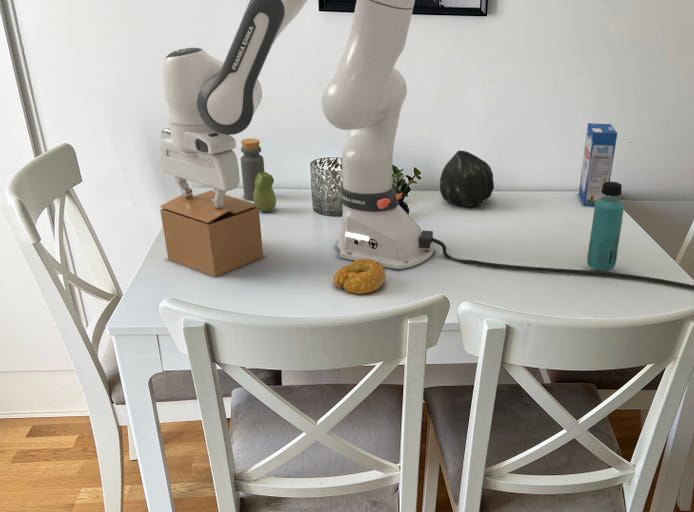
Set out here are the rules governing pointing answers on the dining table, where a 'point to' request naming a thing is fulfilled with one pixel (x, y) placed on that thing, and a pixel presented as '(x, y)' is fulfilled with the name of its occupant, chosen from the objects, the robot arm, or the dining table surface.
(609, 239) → the beverage bottle
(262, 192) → the pear
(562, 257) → the dining table surface
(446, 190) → the squash
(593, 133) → the milk carton
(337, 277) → the bagel
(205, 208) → the flap
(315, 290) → the dining table surface
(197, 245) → the carton
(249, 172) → the bottle
